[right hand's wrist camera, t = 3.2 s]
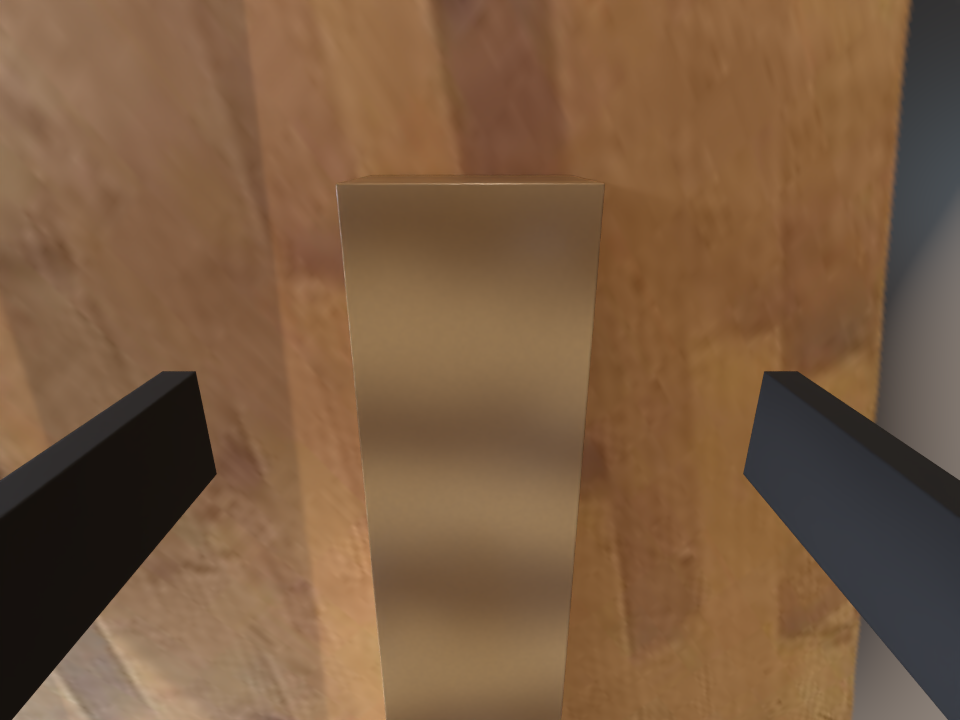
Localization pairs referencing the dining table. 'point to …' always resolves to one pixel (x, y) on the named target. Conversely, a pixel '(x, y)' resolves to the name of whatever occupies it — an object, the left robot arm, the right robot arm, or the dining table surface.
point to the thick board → (471, 428)
